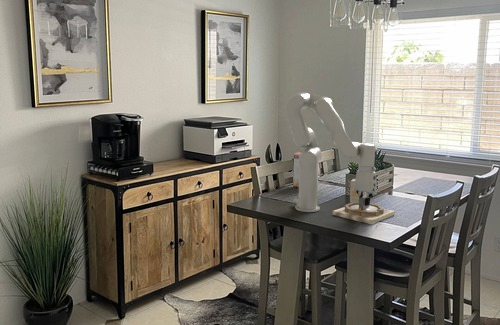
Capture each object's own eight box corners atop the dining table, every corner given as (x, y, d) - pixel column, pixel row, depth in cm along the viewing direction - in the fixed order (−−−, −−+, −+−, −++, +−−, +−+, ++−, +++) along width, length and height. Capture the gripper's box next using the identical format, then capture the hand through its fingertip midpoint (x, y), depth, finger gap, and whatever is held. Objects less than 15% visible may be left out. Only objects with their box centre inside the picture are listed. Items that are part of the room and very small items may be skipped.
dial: (356, 205, 264) (356, 191, 263) (382, 209, 256) (383, 196, 255) (345, 211, 253) (345, 197, 251) (372, 216, 245) (373, 202, 244)
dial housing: (332, 214, 254) (333, 206, 254) (356, 206, 270) (356, 198, 269) (371, 224, 240) (372, 215, 239) (394, 214, 255) (395, 206, 254)
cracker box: (316, 189, 307) (317, 154, 303) (309, 190, 303) (311, 156, 299) (299, 184, 317) (300, 151, 313) (292, 186, 313) (293, 152, 309)
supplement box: (367, 204, 275) (368, 180, 272) (363, 206, 271) (365, 182, 268) (352, 201, 279) (354, 178, 277) (349, 203, 275) (350, 179, 273)
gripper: (384, 170, 248) (382, 206, 251) (356, 165, 258) (354, 200, 262) (377, 172, 242) (374, 209, 246) (347, 167, 253) (346, 203, 257)
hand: (364, 204), depth 254 cm, fingers closed on dial, 2 cm apart
